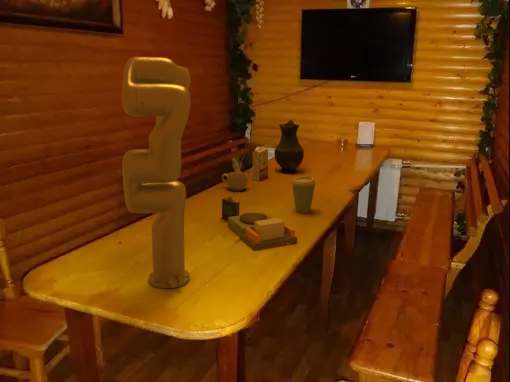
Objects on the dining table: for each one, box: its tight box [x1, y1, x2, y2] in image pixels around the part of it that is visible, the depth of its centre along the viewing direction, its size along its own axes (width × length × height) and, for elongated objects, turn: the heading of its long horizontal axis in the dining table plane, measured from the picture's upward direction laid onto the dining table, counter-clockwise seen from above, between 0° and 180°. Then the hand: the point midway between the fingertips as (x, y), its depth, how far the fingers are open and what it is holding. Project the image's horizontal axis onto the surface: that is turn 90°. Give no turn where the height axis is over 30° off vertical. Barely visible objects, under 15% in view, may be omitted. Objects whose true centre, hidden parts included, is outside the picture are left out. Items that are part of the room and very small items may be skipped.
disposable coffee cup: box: [291, 175, 317, 214], centre depth 212 cm, size 11×11×15 cm
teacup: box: [221, 171, 249, 192], centre depth 245 cm, size 14×11×8 cm
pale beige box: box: [254, 217, 286, 241], centre depth 176 cm, size 5×10×6 cm, turn 117°
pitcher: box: [274, 119, 305, 174], centre depth 282 cm, size 17×21×30 cm
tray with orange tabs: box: [227, 211, 298, 251], centre depth 183 cm, size 26×18×5 cm
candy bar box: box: [252, 147, 269, 182], centre depth 265 cm, size 11×5×16 cm, turn 155°
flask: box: [221, 195, 241, 222], centre depth 198 cm, size 9×3×11 cm, turn 50°
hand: (166, 153), depth 171 cm, fingers open, 9 cm apart
